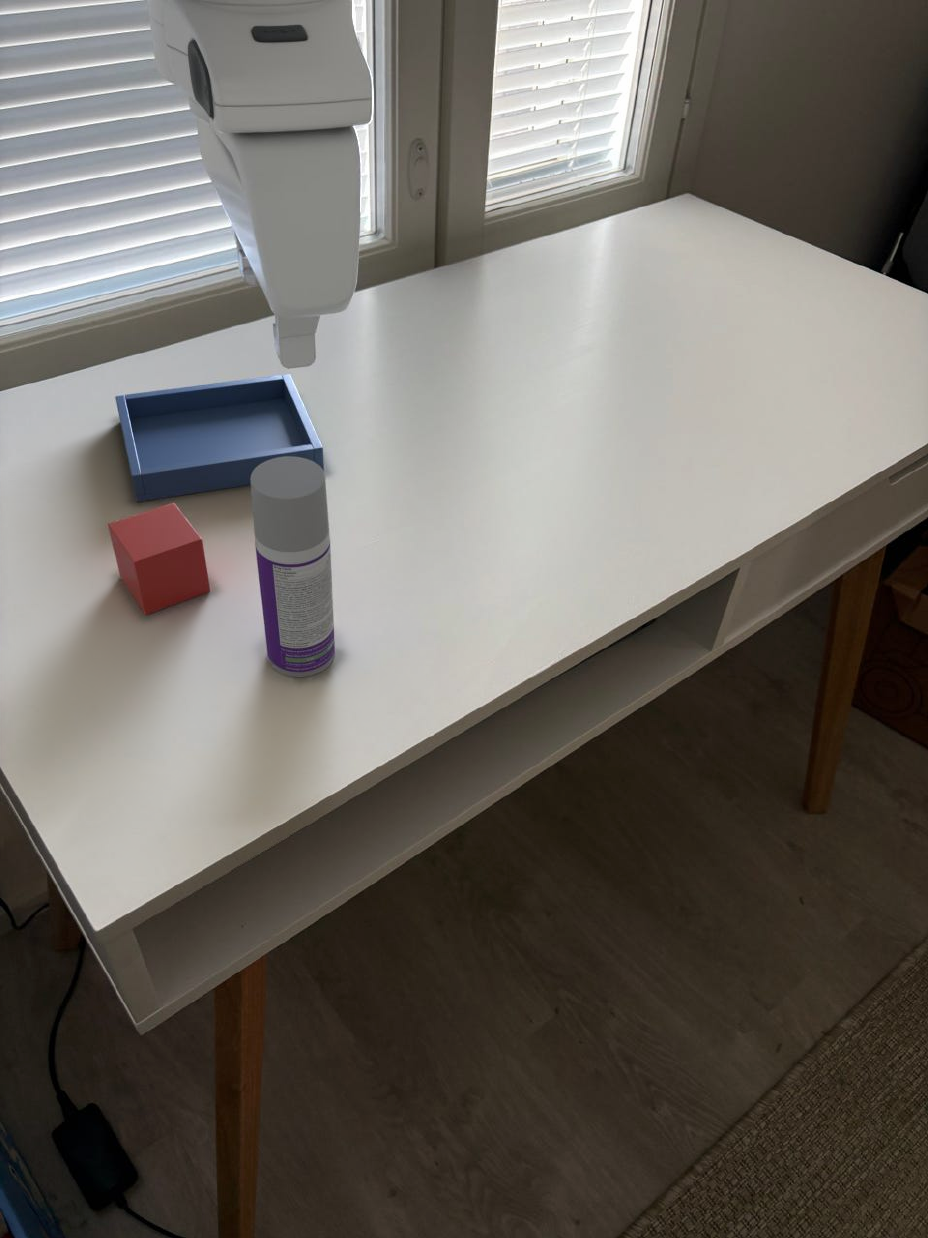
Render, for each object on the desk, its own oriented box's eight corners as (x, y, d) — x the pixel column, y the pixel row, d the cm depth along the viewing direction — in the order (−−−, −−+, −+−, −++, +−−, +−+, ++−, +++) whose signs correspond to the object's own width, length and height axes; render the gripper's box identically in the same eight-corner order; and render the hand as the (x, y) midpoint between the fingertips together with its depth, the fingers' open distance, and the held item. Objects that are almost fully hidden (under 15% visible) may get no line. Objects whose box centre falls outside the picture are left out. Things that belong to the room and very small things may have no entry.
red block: (145, 615, 73) (134, 562, 69) (119, 576, 76) (107, 523, 72) (210, 591, 75) (202, 538, 71) (182, 554, 78) (173, 502, 74)
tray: (136, 502, 82) (131, 476, 80) (120, 421, 91) (114, 395, 89) (324, 473, 87) (323, 447, 85) (291, 398, 95) (289, 373, 93)
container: (266, 633, 72) (247, 456, 62) (332, 627, 73) (324, 452, 63) (268, 680, 69) (248, 502, 58) (337, 674, 69) (330, 497, 59)
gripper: (149, -25, 51) (185, 244, 60) (222, 101, 37) (254, 425, 47) (273, -27, 53) (290, 235, 62) (386, 93, 39) (385, 406, 48)
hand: (275, 318), depth 54 cm, fingers open, 8 cm apart
